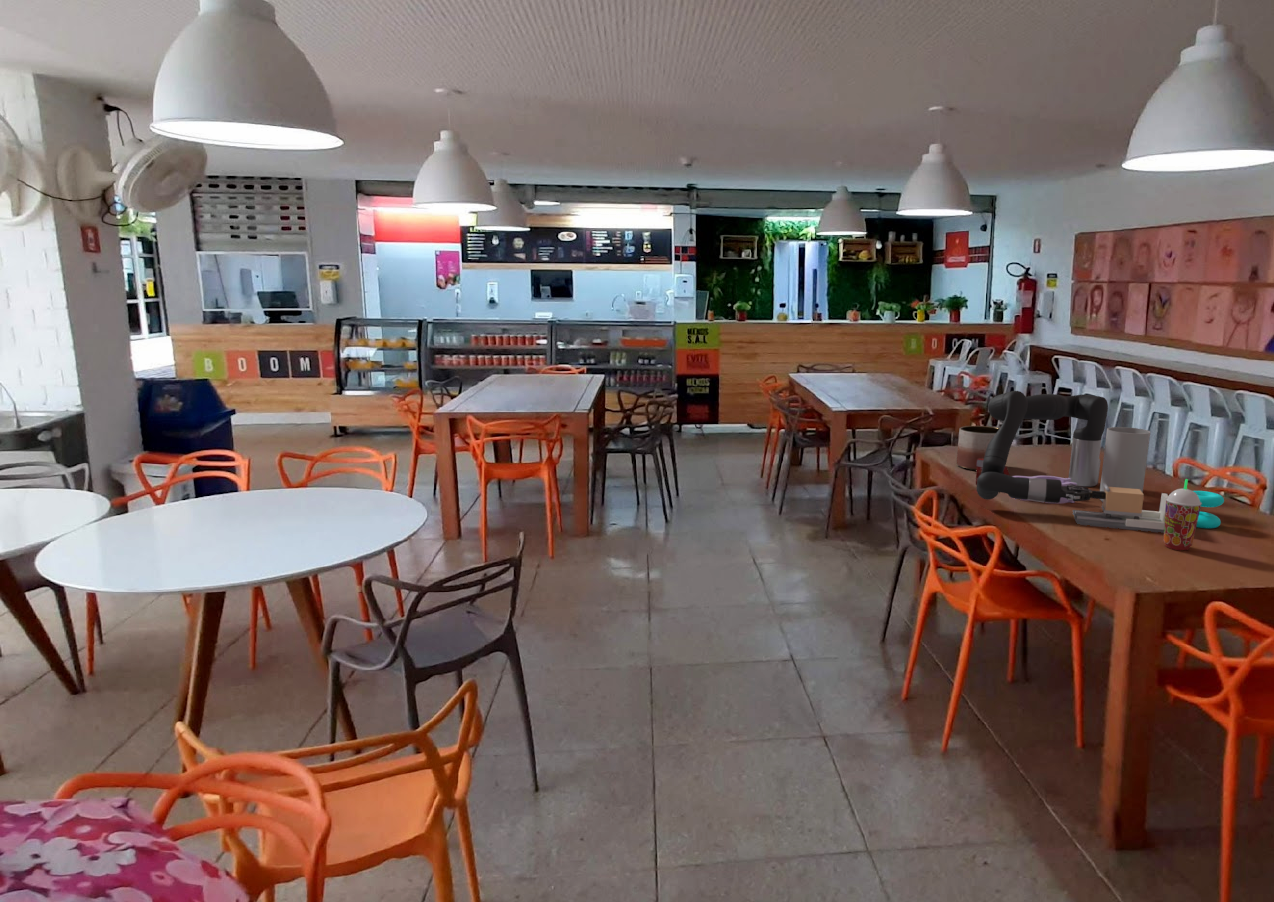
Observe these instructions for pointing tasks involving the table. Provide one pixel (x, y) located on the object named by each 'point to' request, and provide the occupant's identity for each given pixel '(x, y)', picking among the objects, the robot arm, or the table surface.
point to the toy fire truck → (980, 465)
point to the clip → (1063, 480)
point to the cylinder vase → (1125, 458)
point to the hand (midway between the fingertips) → (1105, 495)
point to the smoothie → (1181, 518)
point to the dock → (1125, 519)
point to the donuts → (1208, 501)
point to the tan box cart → (1122, 501)
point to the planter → (973, 444)
